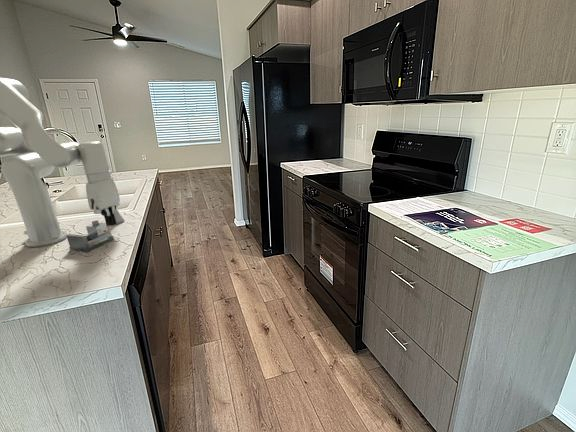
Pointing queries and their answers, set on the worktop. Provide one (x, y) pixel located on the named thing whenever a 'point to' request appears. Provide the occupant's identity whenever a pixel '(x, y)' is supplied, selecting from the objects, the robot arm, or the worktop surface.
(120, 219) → the flask
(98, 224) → the knobbed grey cube
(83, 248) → the base
